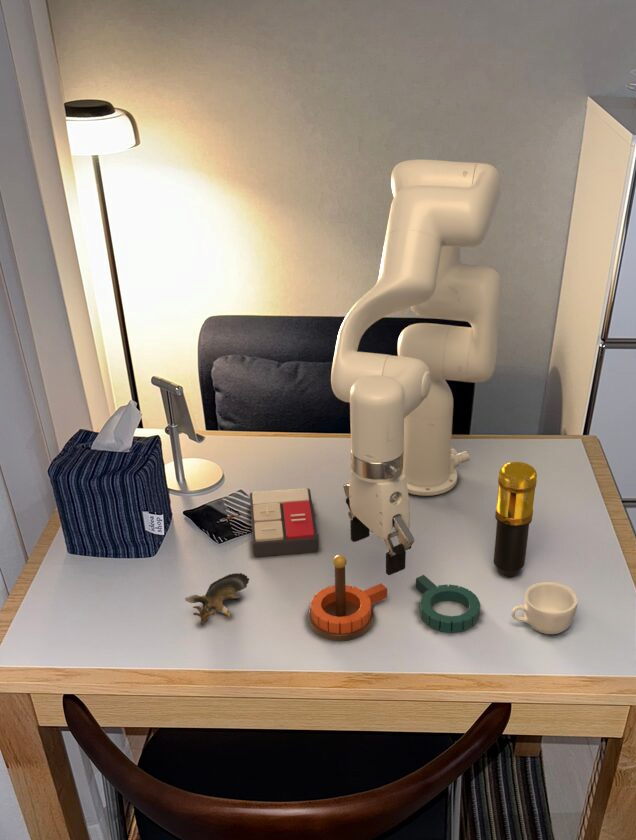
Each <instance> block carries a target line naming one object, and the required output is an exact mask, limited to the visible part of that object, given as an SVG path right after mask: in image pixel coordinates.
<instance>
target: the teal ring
mask: <svg viewBox="0 0 636 840" xmlns="http://www.w3.org/2000/svg"><path fill="white" fill-rule="evenodd" d="M415 589H416V590H418V592H420V593H421V594H422V595H421V597H420V601H419V616H420V618H421V620H422V621H423V623H425V625H427V626H428V627H429V628H431V629H432V630H436V631H438V632H439V631H440V633H441V632H442V633H446V634H447V633H449V634H451V633H452V634H456V633H462V632H465V631H467V630H469V629H471V628H472V627H474V626H475V625H476V624H477V623H478V621H479V619H480V610H481V602H480V600H479V597H478V596H477V595H476V594H475V593H474V592H473V591H472V590H469V589H468V588H465V586H459V585H458V584H457V585H455V584H440V585H436V584H435V583H434V582H433V581H431V580H430V579H429V578H428V577H427V576H426V575H425V574H422V575H420V576H418V577H416V578H415ZM445 601H451V602H456V603H459V604H460V605H463V606H464V608H466V611H465V612H463V613H462V614H457V615H447V614H442V613H439V612H438V611H436V610H435V609H434V608H433V607H434V605H435V604H438V603H440V602H445Z"/></svg>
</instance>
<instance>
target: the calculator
mask: <svg viewBox="0 0 636 840" xmlns="http://www.w3.org/2000/svg"><path fill="white" fill-rule="evenodd" d="M249 503H250V504H249V506H250V518H251V519H250V521H251V536H252V551H253V557H255V558H259V557H260V558H261V557H272V556H284V555H294V554H306V553H307V554H308V553H316V552H318V551H319V545H318V543H319V541H318V539H319V538H318V532H317V531H318V530H317V525H316V519H315V512H314V507H313V506H314V505H313V501H312V494H311V488H308V487H307V488H305V487H302V488H291V489H280V490H279V489H277V490H264V491H253V492H249Z"/></svg>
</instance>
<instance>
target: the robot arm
mask: <svg viewBox="0 0 636 840" xmlns="http://www.w3.org/2000/svg"><path fill="white" fill-rule="evenodd" d="M390 176H391V177H390V186H391V192H392V195H393V199H392V201H391V204H390V209H389V216H388V220H387V226H386V232H385V237H384V242H383V243H384V244H383V250H382V256H381V261H380V267H379V274H378V279H377V280H376V281H377V282H376V283H375V285H374V286H372V288H370V289H369V290H368V291H367V292H366V293H364V294H363V295H362V296H361V297H360V299H358V300H357V301H356V302H355V304H353V305H352V307H351V309H349V311H348V312H347V313H346V315H345V317H344V319H343V321H342V323H341V325H340V327H339V330H338V334H337V337H336V338H337V339H336V343H335V349H334V355H333V360H332V365H331V374H330V385H331V390H332V392H333V395H334V396H335V397H336V398H337V399H338V400H340V401H342V402H344V403H349V421H350V471H349V472H350V473H349V482H348V483H346V484H343V486H342V487H343V491H344V494H345V497H346V498H345V504H346V505H347V507H348V509H349V511H348V512H347V513H348V514H347V515H348V517H349V519H350V521H349V522H350V523H349V524H350V525H349V526H350V540H351V542H353V543H356V542H359V541H361V540H364V539H366V538H368V537H370V533H371V532H372V533H373V534H374V535H375V536H377V537H378V538H379V539H381V540H383V541H384V544H385V546H386V549H387V552H386V553H385V574H386V575H387V576H392V575H394V574H396V573H398V572H401V571H403V570H405V569H406V556H407V555H406V553H407V551H409V550H411V549H412V546H413V544H414V543H415V536H414V535H413V534H412V531H411V530H410V527H411V512H410V497H409V494H411V495H413V496H421V497H431V496H432V497H433V496H437V495H438V496H439V495H442V494H445V493H446V492H449V491H451V490H452V489H454V488H455V487H456V485H457V483H458V472H457V469H455V467H458V465H459V464H461V463H465V462H467V461H470V459H471V454H470V452H469V451H468V450H465V451H461V452H458V453H457V450H456V449H455V448H452V437H453V419H454V417H453V416H454V396H453V392H452V389H451V388H450V386H449V384H448V382H447V381H453V382H454V381H455V382H463V383H473V384H474V383H475V384H480V383H485V382H488V381H489V380H490V379H491V378H492V376H493V374H494V372H495V369H496V364H497V357H498V345H499V334H500V321H501V308H502V281H501V277H500V275H499V273H498V272H497V271H496V270H495V269H494V268H492V267H490V266H486V265H478V264H469V263H467V264H466V263H462V262H461V248H476V247H478V246H480V245H481V244H482V243H484V241H485V239H486V237H487V234H488V232H489V230H490V227H491V224H492V222H493V220H494V217H495V214H496V212H497V211H498V207H499V204H500V200H501V195H502V194H501V193H502V180H501V176H500V173H499V170H498V169H497V168H496V167H495V166H494V165H492V164H490V163H483V162H471V161H470V162H469V161H451V160H443V159H442V160H441V159H408V160H404V161H401V162H399V163H397V164H396V165H394V167H393V169H392V171H391V175H390ZM409 308H410V310H411V311H412V313H414V314H415V315H416V316H420V317H424V318H429V319H438V320H447V321H457V322H466V323H468V324H469V325H470V326H471V327H470V326H469V327H468V326H459V325H451V324H441V323H429V322H418V323H413V324H409V325H408V326H407V327H405V328H404V329H402V330H401V332H400V334H399V336H398V339H397V346H396V347H397V348H396V349H397V355H392V354H386V353H377V352H376V353H375V352H365V351H358V349H359V345H360V342H361V339H362V337H363V335H364V334H365V333H366V332H367V330H368V329H369V328H370V327H371V326H372V325H374V324H375V323H376V322H378V321H379V320H381V319H383V318H385V317H388V316H389V315H392V314H395V313H397V312H400V311H402V310H406V309H409ZM393 528H394V530H395V531H392V529H393ZM394 537H396V538H397V540H398V544H396V545H394V543H393V540H392V538H394Z"/></svg>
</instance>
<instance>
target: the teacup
mask: <svg viewBox="0 0 636 840" xmlns="http://www.w3.org/2000/svg"><path fill="white" fill-rule="evenodd" d="M578 602H579V599H578V594H577V593H576V592H575V591H574V590H573V589H572V588H571V587H569V586H568V585H565V584H563V583H559V582H555V581H540V582H536V583H534V584H532V585H530V586H529V587H528V588H527V589H526V591H525V592H524V604H520V605H516V606H514V607H513V608H512V609H511V611H510V612H511V613H510V614H511V617H512V618H513V619H514V620H516V621H519V622H523V623H524V622H525V623H528V624H529V625H530V626H531V628H533V630H535V631H537V632H539V633H541V634H545V635H557V634H561V633H564V632H565V631H566V630H567V629H568V628H569V627H571V624H572V623H573V621H574V618H575V616H576V612H577V607H578ZM518 610H522V611H523V612H524V615H523V616H517V615H515V613H516V612H517V611H518Z"/></svg>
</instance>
